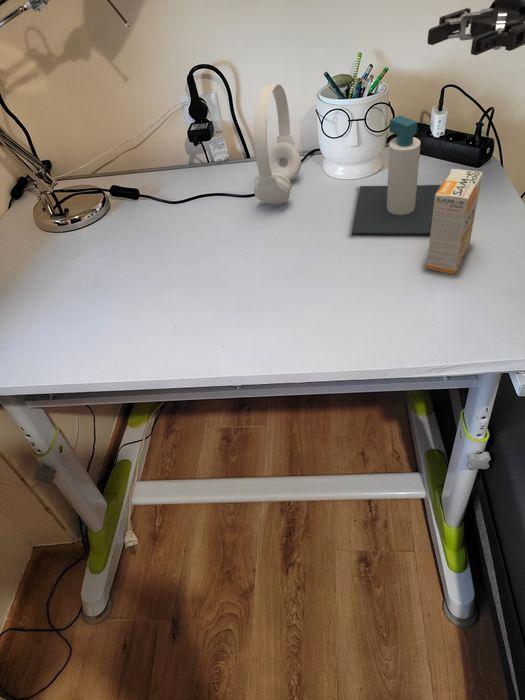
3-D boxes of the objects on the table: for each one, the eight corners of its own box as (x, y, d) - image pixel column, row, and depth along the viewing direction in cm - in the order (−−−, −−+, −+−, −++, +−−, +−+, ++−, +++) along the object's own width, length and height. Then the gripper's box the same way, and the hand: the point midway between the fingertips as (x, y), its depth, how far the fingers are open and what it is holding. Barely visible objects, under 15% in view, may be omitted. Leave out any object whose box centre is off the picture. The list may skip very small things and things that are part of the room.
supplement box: (456, 276, 78) (469, 199, 69) (425, 269, 80) (433, 194, 71) (470, 246, 83) (484, 170, 73) (440, 240, 85) (450, 166, 75)
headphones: (252, 217, 98) (233, 111, 84) (273, 170, 110) (260, 71, 96) (288, 217, 96) (275, 109, 82) (305, 170, 108) (297, 68, 94)
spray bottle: (421, 207, 91) (429, 120, 80) (399, 218, 90) (405, 131, 79) (401, 197, 95) (406, 112, 84) (380, 207, 93) (383, 122, 82)
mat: (446, 187, 96) (446, 184, 95) (447, 236, 85) (448, 233, 85) (360, 188, 100) (360, 186, 100) (351, 235, 89) (351, 232, 89)
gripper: (493, -21, 82) (417, 6, 77) (575, -12, 73) (494, 19, 68) (485, 32, 87) (414, 60, 82) (560, 46, 78) (485, 79, 73)
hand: (450, 42), depth 75 cm, fingers open, 8 cm apart
